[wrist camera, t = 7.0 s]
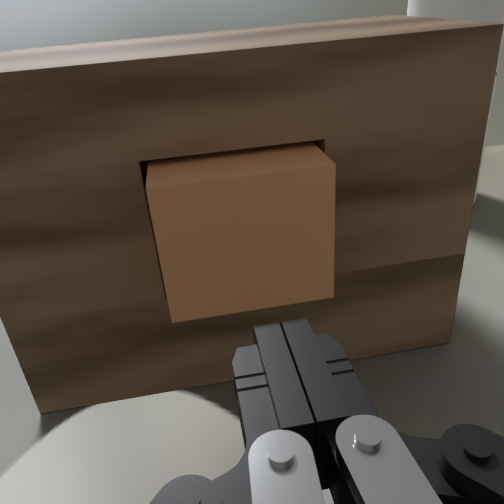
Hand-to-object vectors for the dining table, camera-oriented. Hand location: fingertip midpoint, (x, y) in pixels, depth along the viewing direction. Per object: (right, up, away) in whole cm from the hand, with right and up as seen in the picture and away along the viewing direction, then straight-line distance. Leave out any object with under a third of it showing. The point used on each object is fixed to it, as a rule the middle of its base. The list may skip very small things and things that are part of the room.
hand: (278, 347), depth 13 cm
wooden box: (-1, -2, +16) cm, 16 cm away
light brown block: (-1, +2, +10) cm, 11 cm away
